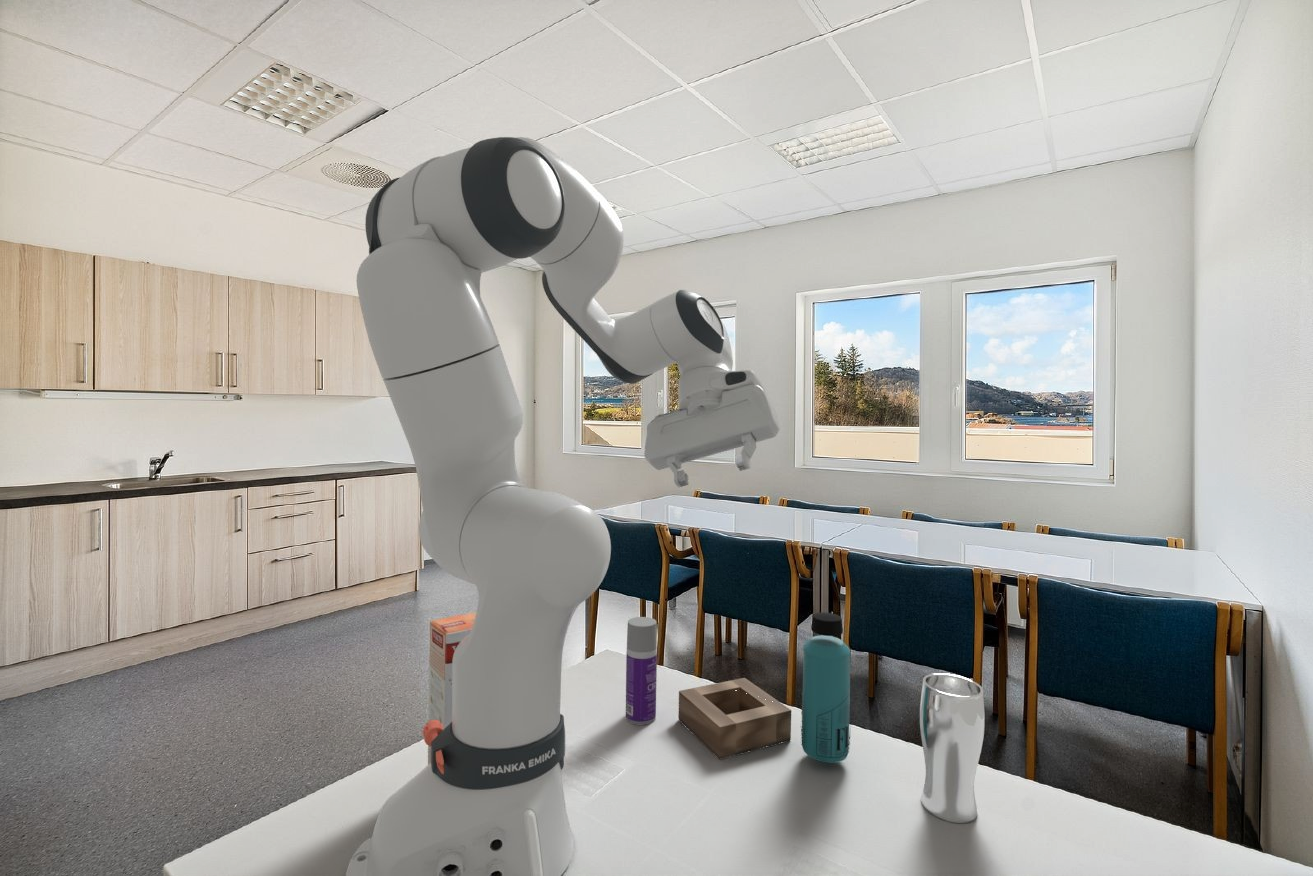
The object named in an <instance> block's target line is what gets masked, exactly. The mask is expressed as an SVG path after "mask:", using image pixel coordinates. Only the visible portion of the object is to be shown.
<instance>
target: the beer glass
mask: <svg viewBox="0 0 1313 876" xmlns="http://www.w3.org/2000/svg"><path fill="white" fill-rule="evenodd" d="M921 689H922V690H921V696H920V705H919V725H920V726H919V727H920V736H921V744H922V750H923V756H924V764H925V779H924V784H923V785H924V786H923V789H922V792H921V797H920V800H921V803H922V806H923V807H924V808H925V809H926V810H927V812H929V813H930V814H932V815H933V816H934V817H937V818H938V819H941V820H942V821H943V820H944V821H945V822H946V821H947V822H950V823H956V824H967V823H971V822H973V821H974V820H976V818H977V816H978V809H977V808H978V807H977V801H976V795H975V778H976V774H977V769H978V765H979V761H980V756H981V753H982V748H983V742H984V737H985V736H984V735H985V704H984V688H983V687H982V686H981V685H980V684H979V683H977V682H976V681H974V680H972V679H969V678H967V677H964V676H961V675H956V674H950V673H945V672H944V673H943V672H942V673H939V672H938V673H937V672H936V673H930V674H927V675H925V676H923V679H922V687H921Z"/></svg>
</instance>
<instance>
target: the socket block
mask: <svg viewBox="0 0 1313 876" xmlns="http://www.w3.org/2000/svg"><path fill="white" fill-rule="evenodd" d="M735 690H737V691H735ZM746 693H747V694H746ZM758 696H759V697H758ZM765 699H766V700H765ZM772 701H773V702H772ZM678 719H679V720H680V721H679V720H678ZM678 719H677V720H678V721H679V722H680V723H681V724H682V723H683V724H684V725H685V726H686V727H685V726H684V725H683V724H682V725H683V726H684V727H685V728H686V729H687V728H688V729H689V730H688V729H687V730H688V731H689V732H690V733H691V732H692V733H693V734H692V733H691V734H692V735H693V737H695V738H696V739H698V740H699V742H701V743H702V744H703V746H705V747H706V749H708V750H709V751H710V753H711V754H713V755H714V756H715V757H716V758H717V760H720V761H721V760H724V759H728V758H731V757H732V758H733V757H735V756H738V755H739V756H740V755H742V753H743V754H746V752H747V753H749V752H748V751H751V752H754V751H757V749H758V750H761V749H760V748H762V749H764V748H763V747H766V746H770V747H773V746H776V745H775V744H777V745H780V744H779V743H781V742H785V743H788V742H791V741H790V740H792V737H791V736H792V710H791V708H789V707H787V706H786V705H784V704H783V703H782V702H780V701H779V700H777V699H776V698H775V697H773V696H772V695H770V694H769V693H767V692H766V691H764V690H763V689H761V688H760V687H759V686H757V685H755V683H753V682H751V680H749V679H747V678H746V677H742V678H736V679H732V680H731V679H730V680H728V681H727V680H726V681H722V682H717V683H716V682H715V683H713V684H712V683H711V684H708V685H707V684H706V685H703V686H702V685H701V686H698V687H693V688H686V689H683V690H678ZM781 744H782V743H781ZM772 745H773V746H772ZM766 748H767V747H766Z"/></svg>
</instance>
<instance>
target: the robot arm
mask: <svg viewBox="0 0 1313 876" xmlns="http://www.w3.org/2000/svg"><path fill="white" fill-rule="evenodd" d="M621 222H622V221H621V220H620V218H619V216H618V215H617V212H616V211H615V210H614V208H613V207H612V206H611V204H610V203H609V201H607V200H606V198H605V197H604V196H603V195H602V194H601V193H600V192H599V191H598V190H597V189H596V188H595V187H594V186H593V185H592V184H591V182H589V181H588V180H587V179H586V177H584V176H583V175H582V174H581V173H580V172H579V171H578V170H576V169H575V168H574V167H573V166H572V165H571V164H569V162H566V161H565V159H564V158H561V157H560V156H559V155H557V154H556V153H555V152H553V151H552V150H551V149H549V148H548V147H546V146H545V145H544V144H542V143H540V142H538V141H537V140H535V139H533V138H529V137H523V136H520V137H512V136H511V137H510V136H504V137H503V136H502V137H501V136H499V137H491V138H487V139H481V140H479V141H477V142H475V143H474V144H473V145H472V146H470V147H467V148H463V149H459V150H457V151H454V152H451V153H447V154H445V155H442V156H441V155H440V156H436V157H432V158H429V159H428V160H427V161H424V162H423V163H421V164H419V165H417V166H415V167H413V168H412V169H410V170H409V171H407V172H406V173H405V174H403V175H402V176H401V177H396V178H393V179H391V180H389V181H387V183H385V184H384V185H383V186H382V187H381V188H379V190H378V191H377V192H376V193H375V195H374V196H372V198H371V200H370V202H369V203H368V207H367V210H366V214H365V223H364V225H365V235H366V239H367V240H366V241H367V245H368V256H366V258H365V259H364V260H362V262H361V264H359V265H360V266H359V267H358V270H357V274H356V288H357V289H356V290H357V294H358V295H357V296H358V300H359V304H360V305H359V306H360V310H361V314H362V317H363V318H362V319H363V322H364V326H365V330H366V334H367V337H368V340H369V341H368V342H369V344H370V348H371V351H372V354H373V357H374V360H375V362H376V365H377V368H378V370H379V374H380V376H381V378H382V380H383V383H384V385H385V388H386V391H387V393H388V394H389V398H390V400H391V403H392V405H393V407H394V411H395V413H396V416H397V418H398V420H399V423H400V426H401V428H402V430H403V434H404V435H405V438H406V441H407V443H408V446H409V449H410V452H411V455H412V459H413V461H414V466H415V470H416V474H417V475H416V476H417V481H418V487H419V494H420V499H421V507H422V513H421V514H420V517H419V524H418V535H419V541H420V543H421V545H422V548H423V549H424V551H425V553H426V554H427V555H428V556H429V557H430V558H431V559H432V560H433V561H434V562H435V563H436V564H437V565H438V566H439V567H440V568H441V569H442V570H444V571H445V572H446V573H447V574H449V575H451V576H453V577H455V578H458V579H460V580H462V581H465V582H468V583H471V584H473V585H475V586H476V589H477V594H478V603H477V608H476V616H475V620H474V623H473V627H472V630H471V632H470V634H469V635H467V636H466V637H465V638H464V639H463V640H462V641H461V642H460V643H459V644H458V646H457V648H456V649H455V652H454V655H453V660H452V722H451V723H450V724H449V725H448V726H447V727H446V728H445V729H444V730H443V726H442V723H440V721H438V720H432V721H429V720H428V722H426V723H425V725H424V726H423V729H422V735H423V739H424V743H425V744H426V745H427V746H428V745H429V746H431V763H430V764H429V765H428V764H427V765H426V767H424V768H423V769H421V771H420V772H418V773H417V774H416V775H415V776H414V777H413V778H411V779H410V780H408V782H407V783H405V784H404V785H403V786H402V787H400V788H399V789H398V790H397V791H395V792H394V793H393V794H392V795H391V796H389V798H388V799H387V800H386V801H385V802H384V804H383V805H382V807H381V809H380V811H379V813H378V815H377V818H376V821H375V825H374V828H373V832H372V835H371V837H369V838H367V839H365V840H364V841H363V842H362V843H361V844H360V845H359V846H358V848H357V849H356V850H355V852H354V853H353V855H352V857H351V858H350V861H349V862H348V863H349V864H348V865H347V868H346V872H345V876H562V875H563V874H564V872H565V871H566V870H567V868H568V867H569V865H570V863H571V861H572V860H573V859H572V858H573V856H574V852H575V838H574V834H573V831H572V829H571V825H570V822H569V817H568V813H567V807H566V801H565V794H564V783H563V774H562V772H563V771H562V770H563V769H564V767H565V766H564V765H565V756H566V727H565V726H566V725H565V717H564V715H563V714H561V694H562V693H561V692H562V690H561V689H562V665H563V664H562V663H563V662H562V661H563V651H564V644H565V639H566V637H567V636H566V635H567V633H568V629H569V626H570V624H571V621H572V618H573V615H574V614H575V612H576V610H577V608H578V607H579V606H580V605H581V604H582V603H583V602H584V601H586V600H587V599H589V598H590V597H591V596H592V595H593V594H594V593H595V592H596V591H597V590H598V588H599V586H600V585H601V583H603V580H604V578H605V576H606V574H607V571H608V569H609V565H610V562H611V561H610V560H611V553H612V552H611V551H612V544H611V538H610V537H611V536H610V532H609V530H608V528H607V527H608V526H607V525H606V522H605V521H604V520H603V518H602V517H601V516H600V515H599V514H598V512H596V511H595V510H593V509H592V508H590V507H588V506H587V505H585V504H583V503H581V502H579V501H578V500H576V499H573V498H571V497H569V496H567V495H566V494H563V493H559V492H555V491H550V490H543V489H536V488H530V487H526V486H525V485H524V484H523V482H522V481H521V479H520V476H519V475H518V472H517V466H516V452H515V442H516V439H517V436H519V434H520V433H521V429H522V427H523V424H524V413H523V410H522V406H521V403H520V400H519V397H518V394H517V392H516V391H517V390H516V389H515V386H514V383H513V380H512V377H511V374H510V371H509V368H508V365H507V363H506V362H507V361H506V359H505V356H504V354H503V351H502V347H501V344H500V343H499V339H498V335H497V334H496V330H495V329H494V326H493V322H492V321H491V318H490V316H489V314H488V311H487V308H486V307H485V305H484V302H483V300H482V298H481V289H480V288H481V276H482V273H486V272H489V271H492V270H495V269H497V268H500V267H503V266H506V265H508V264H510V263H512V262H514V261H517V260H519V259H527V258H531V259H532V260H533V261H534V262H536V263H537V264H538V265H539V266H540V267H541V269H542V270H543V271H542V275H541V282H542V287H543V291H544V292H545V295H546V297H547V299H548V301H549V302H550V304H551V305H552V306H553V307H554V309H555V310H556V312H558V314H559V315H560V316H561V317H562V319H563V320H564V321H565V322H566V323H567V324H568V325H569V327H571V328H572V330H574V331H575V333H576V334H577V335H578V336H579V337H580V338H581V339H582V340H583V341H584V342H585V343H586V344H587V346H589V348H590V349H591V350H592V351H593V352H594V353H595V354H596V355H597V357H598V358H599V360H600V362H601V363H602V365H603V367H604V368H605V370H606V371H607V373H608V374H610V375H611V377H614V379H616V380H619V381H621V382H623V383H627V384H630V385H632V384H633V385H635V384H637V383H639V382H641V381H643V380H644V379H646V378H648V377H650V376H652V375H653V374H654V373H656V372H658V371H662V370H663V369H665V368H667V367H670V366H672V365H674V364H676V363H677V369H678V372H679V375H680V376H679V379H678V382H677V384H678V386H677V389H678V390H677V391H678V396H677V397H678V398H677V399H678V408H676V409H673V410H670V411H668V412H666V413H661V414H657V415H656V416H654V419H651V421H650V422H649V423H648V424H647V426H646V437H645V445H644V458H645V460H646V461H647V463H648V464H649V465H650V466H651V467H653V468H654V469H655V470H657V471H661V470H665V469H668V468H669V469H670V470H671V472H672V473H673V480H674V481H673V482H674V484H675V486H677V487H678V488H682V487H686V486H689V475H688V474H687V473H686V471H684V469H682V464H685V463H688V462H692V461H695V460H699V459H703V458H706V457H710V456H713V455H716V454H721V453H724V452H727V451H731V450H734V449H737V448H741V447H742V450H741V452H740V453H739V454H736V455H735V460H736V461H735V464H736V467H737V468H738V470H739V471H740V472H741V471H746V470H749V469H751V458H752V457H753V455H754V453H755V452H756V449H757V443H758V442H762V441H767V440H769V439H773V438H775V437H776V436H777V435H778V433H779V431H780V424H779V420H778V415H777V413H776V410H775V407H774V405H773V404H772V402H771V400H770V398H769V397H768V393H767V391H766V389H765V386H764V385H763V383H762V380H760V378H759V377H758V376H757V374H756V373H755V372H754V371H753V370H750V369H746V370H733V365H734V364H733V363H734V361H733V351H732V346H731V341H730V337H729V335H728V331H727V329H726V326H725V324H724V322H723V320H722V319H721V317H720V316H719V313H717V311H716V309H715V308H714V307H713V305H712V304H711V303H710V301H708V300H707V298H705V297H703V296H701V295H699V294H697V293H695V292H692V291H689V290H686V289H680V290H679V289H678V291H675V292H673V293H671V294H669V295H666V296H664V297H662V298H660V299H659V300H657V301H655V302H653V303H652V304H649V305H648V306H646V307H644V308H641V309H640V310H638V311H636V312H633V313H632V314H630V315H628V316H623V317H620V318H611V317H610V316H609V315H608V313H607V312H606V311H605V310H604V308H602V306H601V305H600V304H599V302H598V301H597V300H596V299H595V296H596V295H597V293H598V292H599V291H600V290H601V289H602V288H603V287H604V286H605V285H607V283H608V282H609V281H610V280H611V278H612V277H613V275H614V273H615V272H616V270H617V268H618V266H619V264H620V260H621V257H622V255H623V249H624V230H623V225H622V223H621Z"/></svg>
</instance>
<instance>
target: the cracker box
mask: <svg viewBox="0 0 1313 876" xmlns="http://www.w3.org/2000/svg"><path fill="white" fill-rule="evenodd" d="M476 612H477V611H476ZM476 612H470V613H466V614H460V615H454V616H449V617H444V618H440V619H439V618H438V619H434V620H431V621H429V663H428V664H429V665H428V666H429V668H428V670H429V671H428V672H429V673H428V678H429V679H428V722H429V721H432V720H438V721H440V723H442V726H443V730H444V729H445V728H446V727H447V726H448V725H449V724H450V723H451V722H452V660H453V655H454V652H455V649H456V648H457V646H458V644H459V643H460V642H461V641H462V640H463V639H464V638H465V637H466V636H467V635H469V634H470V632H471V630H472V627H473V623H474V620H475V616H476ZM427 746H428V747H427V766H428V765H429V764H430V763H431V746H429V745H427Z"/></svg>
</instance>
